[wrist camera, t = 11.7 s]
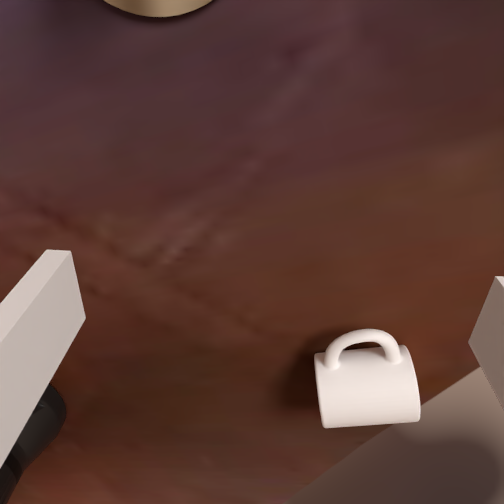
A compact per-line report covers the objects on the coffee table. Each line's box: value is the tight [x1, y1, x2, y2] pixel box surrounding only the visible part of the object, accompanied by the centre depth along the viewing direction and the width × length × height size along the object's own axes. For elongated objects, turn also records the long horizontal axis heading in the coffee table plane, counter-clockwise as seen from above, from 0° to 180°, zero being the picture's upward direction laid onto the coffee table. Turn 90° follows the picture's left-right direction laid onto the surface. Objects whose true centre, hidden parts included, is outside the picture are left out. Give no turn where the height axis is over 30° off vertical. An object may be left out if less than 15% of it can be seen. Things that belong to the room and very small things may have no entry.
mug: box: [314, 329, 420, 428], centre depth 47 cm, size 12×10×8 cm
